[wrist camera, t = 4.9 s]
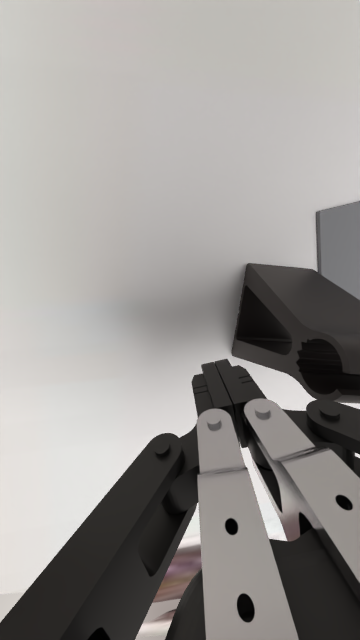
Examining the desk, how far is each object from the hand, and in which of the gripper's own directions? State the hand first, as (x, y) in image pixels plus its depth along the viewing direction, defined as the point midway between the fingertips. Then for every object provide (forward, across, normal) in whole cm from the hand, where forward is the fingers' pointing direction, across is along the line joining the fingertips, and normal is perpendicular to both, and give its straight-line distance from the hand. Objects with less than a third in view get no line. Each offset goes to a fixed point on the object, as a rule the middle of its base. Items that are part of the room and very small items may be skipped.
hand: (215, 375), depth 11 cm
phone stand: (+9, -7, 0) cm, 11 cm away
